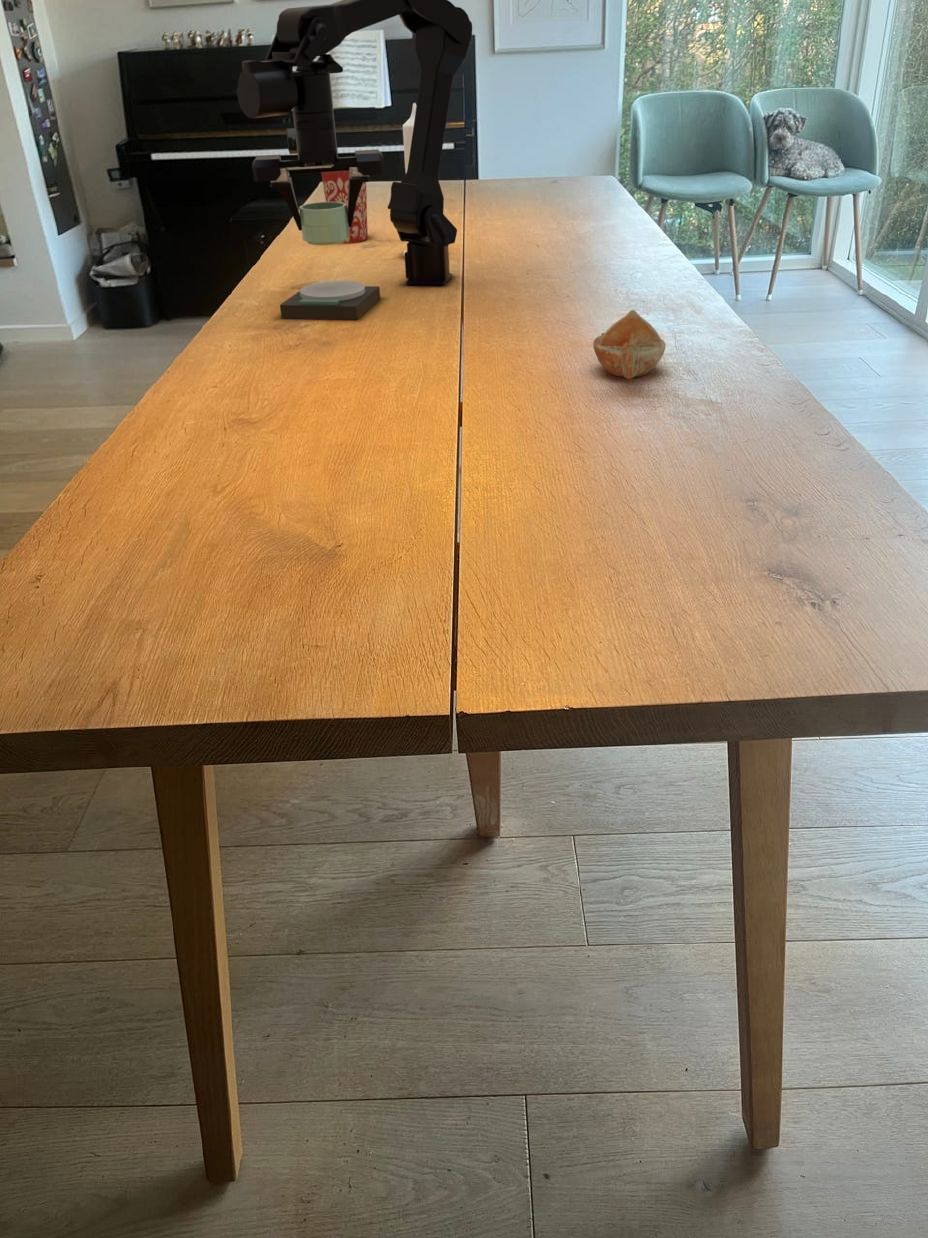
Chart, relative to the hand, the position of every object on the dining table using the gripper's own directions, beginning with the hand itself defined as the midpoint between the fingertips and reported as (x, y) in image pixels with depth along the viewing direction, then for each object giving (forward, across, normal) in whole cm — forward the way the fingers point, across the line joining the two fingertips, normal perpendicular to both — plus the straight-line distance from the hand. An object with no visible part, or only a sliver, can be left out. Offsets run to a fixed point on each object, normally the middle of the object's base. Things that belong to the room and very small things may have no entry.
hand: (325, 228), depth 147 cm
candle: (+12, -17, -31) cm, 37 cm away
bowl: (+2, 0, 0) cm, 2 cm away
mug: (+12, -4, -53) cm, 54 cm away
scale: (+11, 0, +2) cm, 11 cm away
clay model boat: (+12, -36, +41) cm, 56 cm away
